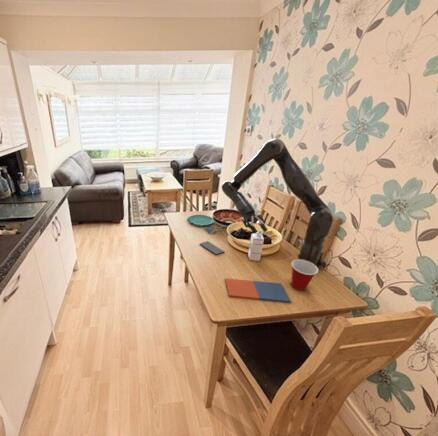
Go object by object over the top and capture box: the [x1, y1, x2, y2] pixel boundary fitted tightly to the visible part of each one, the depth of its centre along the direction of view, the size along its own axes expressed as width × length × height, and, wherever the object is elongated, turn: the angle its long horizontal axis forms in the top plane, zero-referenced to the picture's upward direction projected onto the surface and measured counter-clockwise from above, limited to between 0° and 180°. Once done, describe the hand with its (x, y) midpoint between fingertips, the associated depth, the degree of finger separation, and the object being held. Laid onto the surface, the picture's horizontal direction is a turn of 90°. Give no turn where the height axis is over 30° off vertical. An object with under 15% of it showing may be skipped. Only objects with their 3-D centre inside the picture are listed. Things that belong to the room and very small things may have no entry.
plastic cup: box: [290, 258, 319, 291], centre depth 112 cm, size 11×11×12 cm
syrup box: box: [247, 233, 265, 262], centre depth 134 cm, size 6×6×14 cm
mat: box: [224, 278, 292, 304], centre depth 112 cm, size 26×12×1 cm, turn 81°
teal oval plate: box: [186, 214, 227, 234], centre depth 178 cm, size 20×30×2 cm, turn 22°
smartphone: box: [199, 240, 225, 256], centre depth 147 cm, size 7×1×15 cm
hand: (260, 231), depth 129 cm, fingers open, 8 cm apart
